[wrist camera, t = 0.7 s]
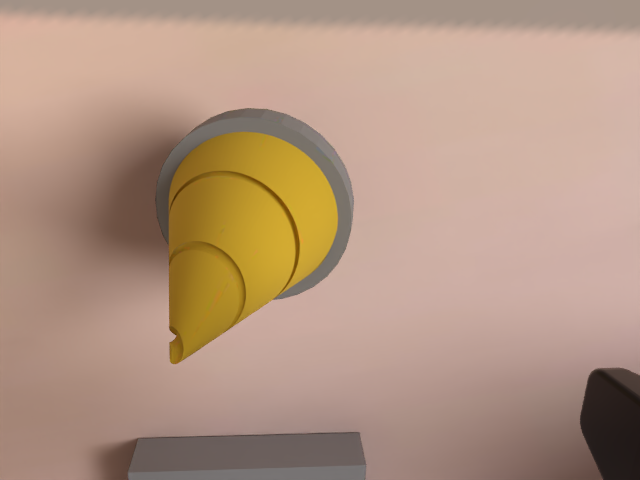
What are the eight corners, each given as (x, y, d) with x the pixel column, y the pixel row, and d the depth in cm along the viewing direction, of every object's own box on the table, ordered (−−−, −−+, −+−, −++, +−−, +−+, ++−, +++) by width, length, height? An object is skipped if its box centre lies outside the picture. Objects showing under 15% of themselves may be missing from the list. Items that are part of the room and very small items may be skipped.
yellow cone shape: (385, 207, 19) (378, 430, 10) (247, 263, 21) (137, 498, 12) (313, 55, 17) (226, 167, 8) (167, 129, 19) (-38, 289, 10)
